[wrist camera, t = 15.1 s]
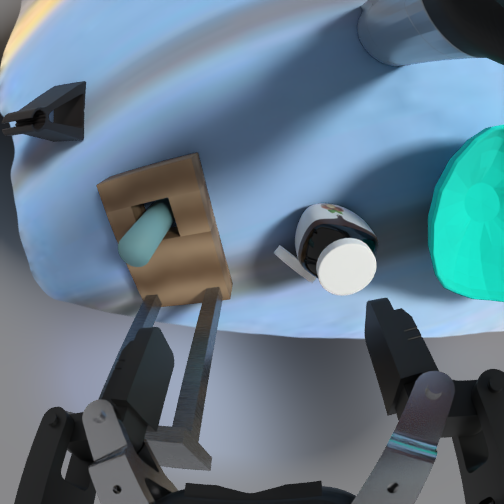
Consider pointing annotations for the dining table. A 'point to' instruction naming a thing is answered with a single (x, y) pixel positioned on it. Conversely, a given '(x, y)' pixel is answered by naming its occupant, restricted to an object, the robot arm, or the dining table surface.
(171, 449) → the sheltered socket
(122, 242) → the peg
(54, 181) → the dining table surface
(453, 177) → the table top decor
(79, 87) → the phone stand
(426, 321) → the dining table surface
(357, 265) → the spread jar
